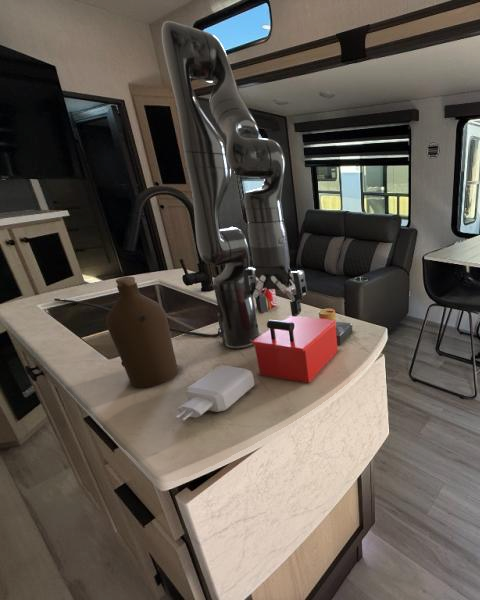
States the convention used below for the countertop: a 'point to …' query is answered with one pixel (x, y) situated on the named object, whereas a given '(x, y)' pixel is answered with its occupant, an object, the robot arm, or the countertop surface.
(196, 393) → the charger
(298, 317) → the red box lid
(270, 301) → the soda can
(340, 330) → the panel
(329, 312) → the valve knob
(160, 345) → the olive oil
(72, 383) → the countertop surface
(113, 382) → the countertop surface
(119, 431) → the countertop surface
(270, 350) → the red lidded box
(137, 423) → the countertop surface
